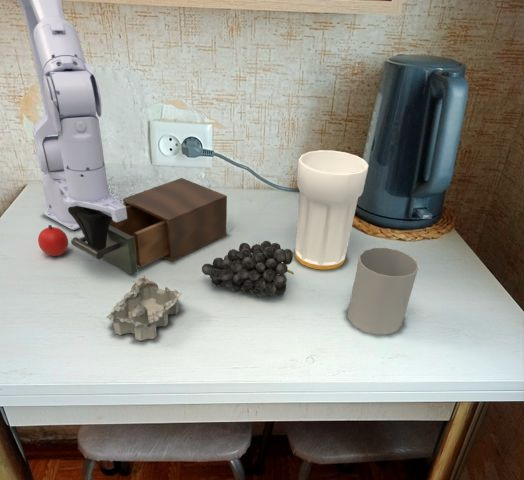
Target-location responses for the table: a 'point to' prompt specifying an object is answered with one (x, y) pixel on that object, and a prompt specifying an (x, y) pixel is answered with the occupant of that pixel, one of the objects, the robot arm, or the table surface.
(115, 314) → the egg carton
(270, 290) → the fruit
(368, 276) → the cup
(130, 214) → the drawer
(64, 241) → the apple
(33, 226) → the table surface
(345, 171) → the cup
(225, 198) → the cabinet
